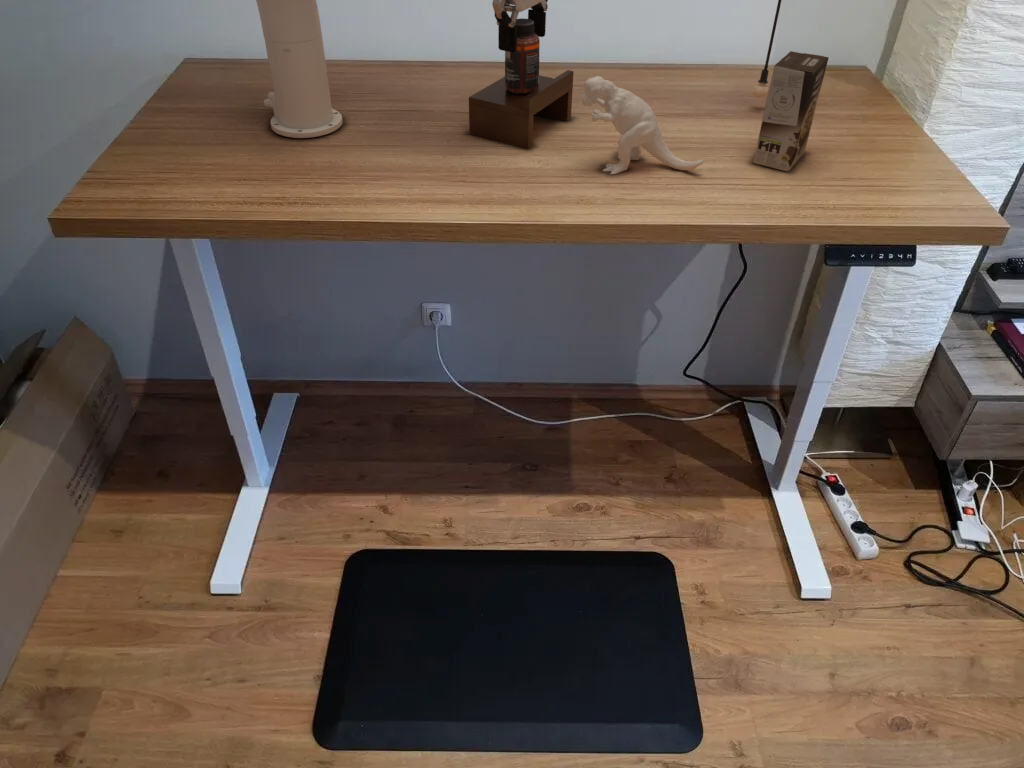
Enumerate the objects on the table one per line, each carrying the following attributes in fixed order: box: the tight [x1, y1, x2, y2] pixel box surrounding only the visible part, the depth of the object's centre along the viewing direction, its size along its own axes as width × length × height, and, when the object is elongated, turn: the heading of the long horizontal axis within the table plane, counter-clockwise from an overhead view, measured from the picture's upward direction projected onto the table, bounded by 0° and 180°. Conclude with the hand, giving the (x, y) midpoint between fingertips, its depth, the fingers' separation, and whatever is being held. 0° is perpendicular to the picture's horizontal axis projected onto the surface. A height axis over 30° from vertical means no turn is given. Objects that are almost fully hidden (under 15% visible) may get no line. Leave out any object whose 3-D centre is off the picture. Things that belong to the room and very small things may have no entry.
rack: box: [468, 69, 574, 150], centre depth 142 cm, size 12×16×9 cm
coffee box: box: [752, 50, 829, 172], centre depth 130 cm, size 9×6×16 cm
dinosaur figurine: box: [581, 75, 704, 175], centre depth 128 cm, size 20×10×15 cm, turn 79°
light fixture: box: [753, 0, 782, 99], centre depth 145 cm, size 7×7×25 cm
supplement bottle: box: [504, 18, 541, 94], centre depth 137 cm, size 6×6×11 cm
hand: (522, 42), depth 136 cm, fingers open, 9 cm apart
